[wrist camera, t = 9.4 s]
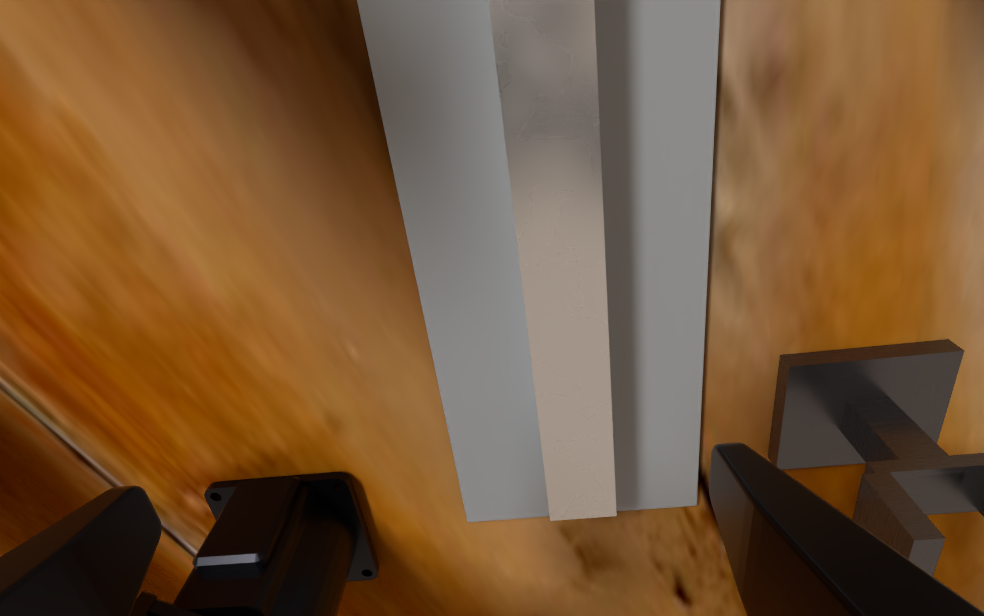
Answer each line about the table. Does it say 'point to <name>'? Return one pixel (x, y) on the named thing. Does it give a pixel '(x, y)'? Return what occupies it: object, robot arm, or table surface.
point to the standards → (880, 436)
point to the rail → (560, 239)
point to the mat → (494, 252)
